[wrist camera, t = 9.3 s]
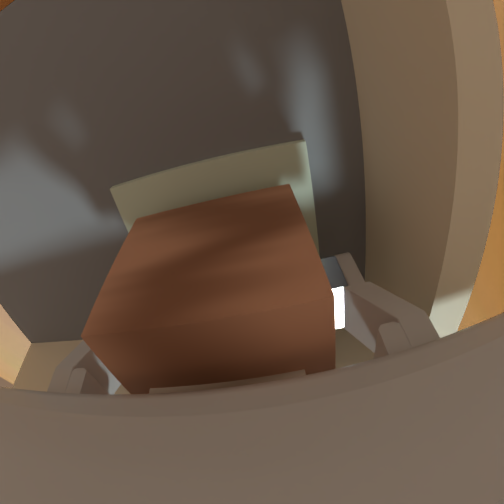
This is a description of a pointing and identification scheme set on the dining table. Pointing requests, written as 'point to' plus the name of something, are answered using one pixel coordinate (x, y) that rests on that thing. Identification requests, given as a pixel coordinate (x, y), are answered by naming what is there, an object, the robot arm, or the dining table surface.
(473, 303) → the dining table surface
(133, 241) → the block
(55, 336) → the arena
